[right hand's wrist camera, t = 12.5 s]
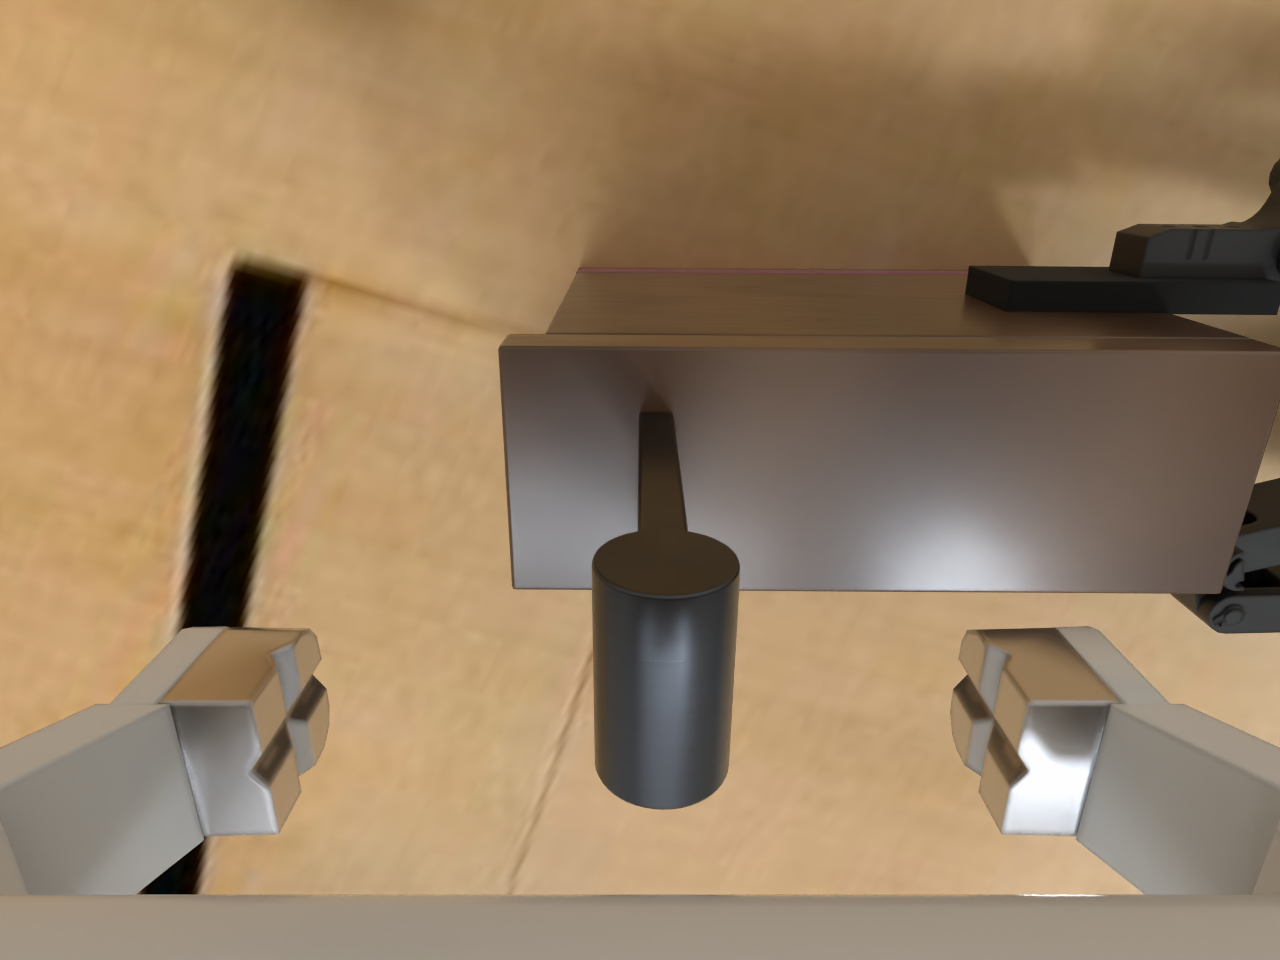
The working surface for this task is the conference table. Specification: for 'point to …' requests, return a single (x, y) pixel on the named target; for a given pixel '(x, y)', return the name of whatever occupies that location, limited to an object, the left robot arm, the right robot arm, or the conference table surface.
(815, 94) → the conference table surface
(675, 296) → the chest
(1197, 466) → the lid
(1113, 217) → the conference table surface
